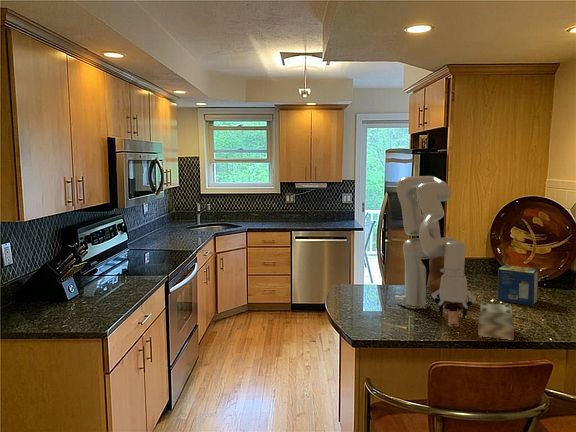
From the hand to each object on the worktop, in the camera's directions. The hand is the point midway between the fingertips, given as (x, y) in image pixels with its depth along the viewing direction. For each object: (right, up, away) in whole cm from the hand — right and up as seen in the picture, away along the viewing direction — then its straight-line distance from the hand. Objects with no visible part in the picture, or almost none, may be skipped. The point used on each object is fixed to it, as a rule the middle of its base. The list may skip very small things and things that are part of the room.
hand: (452, 315), depth 181 cm
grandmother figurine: (0, -4, +1) cm, 4 cm away
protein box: (+44, -1, +36) cm, 56 cm away
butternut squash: (+10, -1, +42) cm, 43 cm away
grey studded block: (+14, -6, -6) cm, 16 cm away
